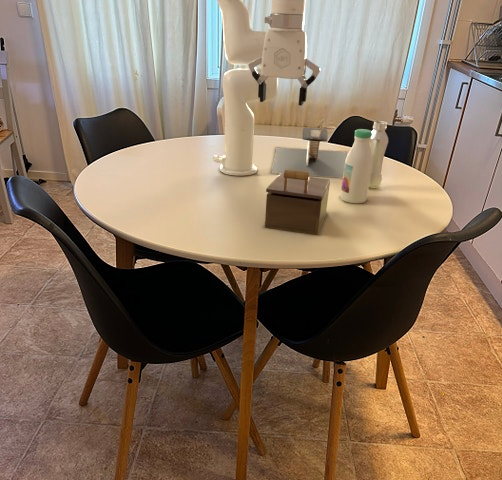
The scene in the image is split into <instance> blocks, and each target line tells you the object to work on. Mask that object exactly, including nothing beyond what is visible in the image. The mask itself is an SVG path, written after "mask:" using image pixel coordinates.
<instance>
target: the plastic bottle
mask: <svg viewBox="0 0 502 480" xmlns="http://www.w3.org/2000/svg"><path fill="white" fill-rule="evenodd" d="M387 125H388V122H387V121H383V120H375V121H373V125H372V130H371V131H372V136H371V140H370V150H371V153H372V170H371V176H370V182H369V189H370V188H372V189H373V188H378V187H380V185H381V183H382V181H383V173H382V172H383V162H384V157H385V154H386V150H387V147H388V144H389V137H388V134H387V133H386V130H387Z"/></svg>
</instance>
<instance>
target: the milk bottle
mask: <svg viewBox="0 0 502 480" xmlns="http://www.w3.org/2000/svg"><path fill="white" fill-rule="evenodd" d="M372 131H373V130H370V129H366V128H365V129H364V128H358V129H356V130H354V137H353V138H354V142H353V144H352V147H351V148H350V149H349V152H347V153H348V155H347V158H346V162H345V168H344V174H343V178H342V181H341V182H342V183H341V189H340V199H341V200H342V201H343V202H345V203H346V202H347V203H351V204H362V203H365V202H366V201H367V198H368V194H369V189H370V187H369V182H370V176H371V170H372V153H371V150H370V140H371V136H372Z"/></svg>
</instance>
